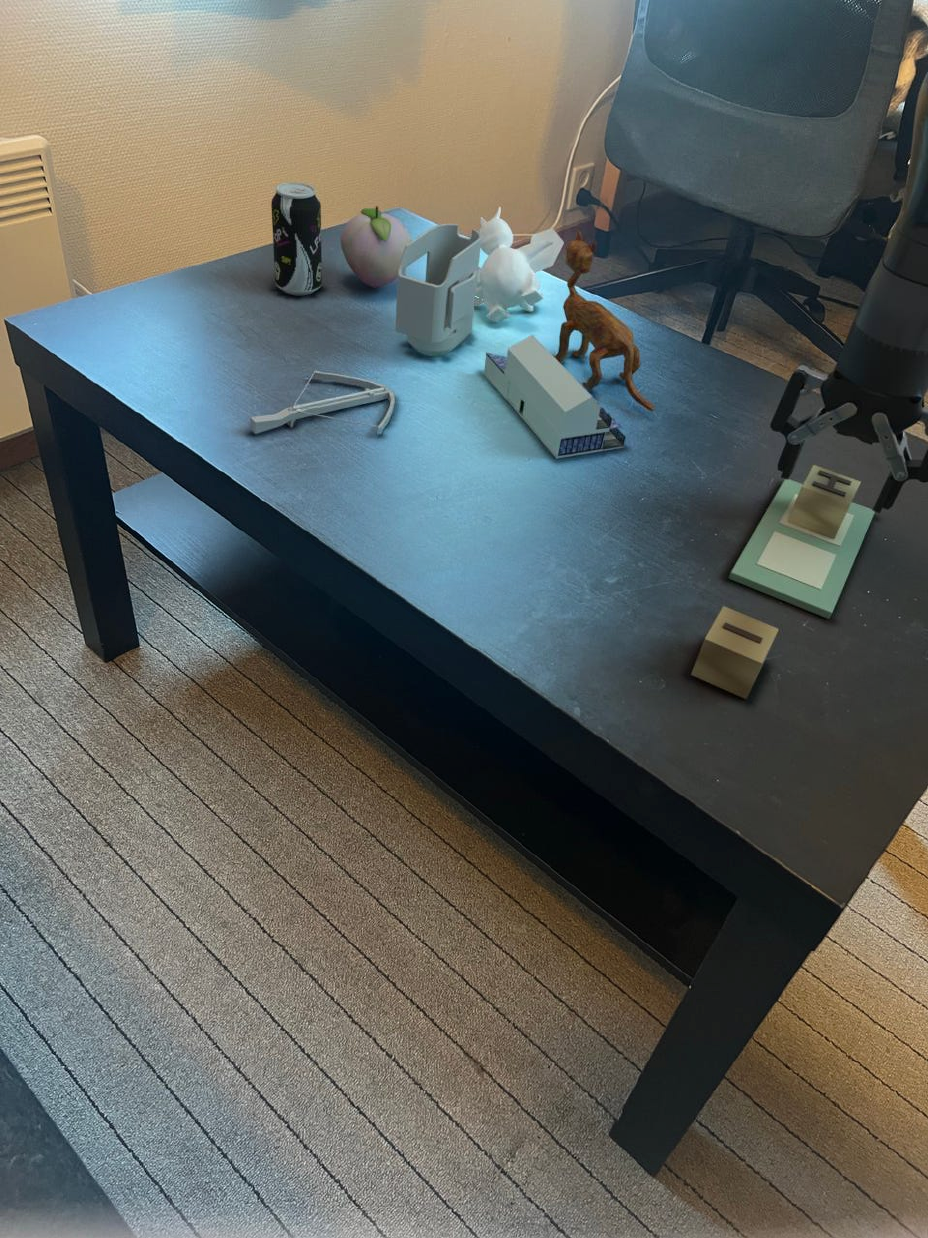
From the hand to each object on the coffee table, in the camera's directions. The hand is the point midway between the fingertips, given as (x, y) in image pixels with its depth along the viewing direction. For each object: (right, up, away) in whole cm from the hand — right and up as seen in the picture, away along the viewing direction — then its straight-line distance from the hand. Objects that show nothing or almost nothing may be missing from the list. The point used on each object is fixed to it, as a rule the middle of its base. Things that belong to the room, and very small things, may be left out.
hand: (831, 491), depth 86 cm
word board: (-2, -5, 0) cm, 6 cm away
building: (-25, +10, +14) cm, 31 cm away
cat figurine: (-19, +15, +20) cm, 31 cm away
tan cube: (-13, -16, -12) cm, 24 cm away
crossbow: (-48, +9, +10) cm, 50 cm away
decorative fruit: (-45, +30, +33) cm, 63 cm away
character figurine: (-30, +27, +31) cm, 51 cm away
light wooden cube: (-1, -2, +2) cm, 3 cm away
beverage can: (-55, +29, +30) cm, 69 cm away
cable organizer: (-37, +20, +22) cm, 48 cm away
